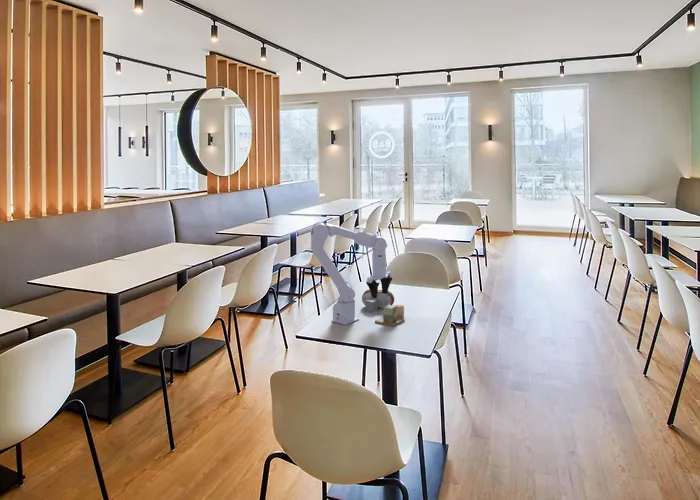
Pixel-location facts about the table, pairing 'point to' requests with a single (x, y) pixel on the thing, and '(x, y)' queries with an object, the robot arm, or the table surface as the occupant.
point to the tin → (379, 298)
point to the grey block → (371, 305)
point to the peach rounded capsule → (400, 311)
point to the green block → (389, 313)
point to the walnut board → (390, 322)
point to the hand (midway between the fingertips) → (379, 295)
